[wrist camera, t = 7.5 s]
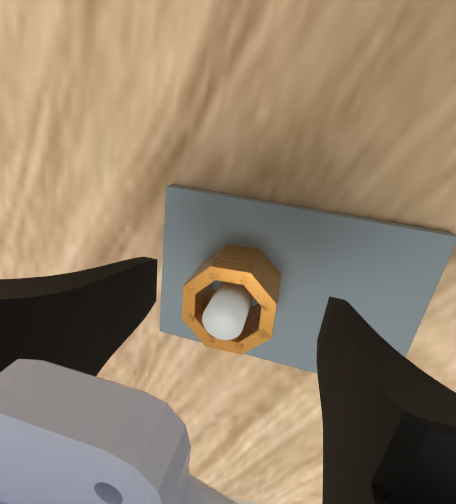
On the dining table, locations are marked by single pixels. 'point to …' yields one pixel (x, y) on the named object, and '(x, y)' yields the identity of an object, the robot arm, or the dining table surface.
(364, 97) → the dining table surface
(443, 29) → the dining table surface
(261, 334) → the collar ring
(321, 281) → the stand
